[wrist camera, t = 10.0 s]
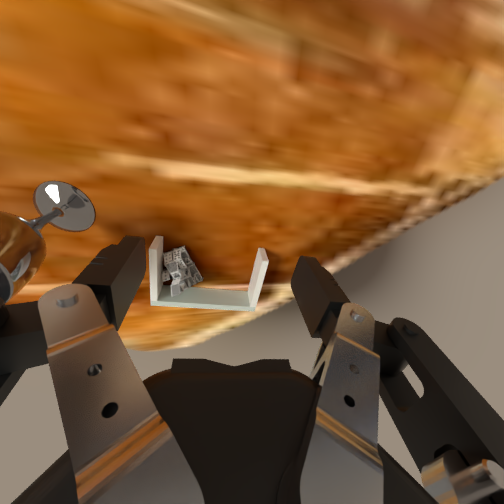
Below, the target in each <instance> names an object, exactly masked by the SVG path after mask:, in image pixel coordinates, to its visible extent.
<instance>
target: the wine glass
mask: <svg viewBox="0 0 504 504" xmlns="http://www.w3.org/2000/svg"><path fill="white" fill-rule="evenodd" d="M33 202H34V206H35V208H36V210H37V212H38V213H39V214H40V216H41V217H38V218H35V219H31V220H27V219H23V218H21V217H19V216H16V215H14V214H11V213H7V212H2V211H0V297H1V298H2V299H3V301H4V303H6V302H8V301H9V300H10V299H11V298H12V297H14V296H15V295H16V294H17V293H18V292H19V291H20V290H21V289H22V288H23V287H25V286H26V285H27V284H28V282H29V281H30V280H31V279H32V278H33V276H34V275H35V274H36V273H37V271H38V270H39V268H40V267H41V265H42V264H43V261H44V259H45V256H46V244H45V240H44V238H43V236H42V234H41V230H42V228H43V227H44V226H45V225H46V224H48V223H49V224H51V225H52V226H54V227H56V228H58V229H61V230H64V231H69V232H80V231H84V230H86V229H88V228H89V227H90V226H91V225H92V224H93V222H94V220H95V210H94V207H93V205H92V203H91V201H90V200H89V198H88V197H87V196H86V195H85V194H84V193H83V192H82V191H80V190H79V189H77V188H76V187H74V186H72V185H70V184H67V183H64V182H60V181H48V182H44V183H42V184H40V185H39V186H38V187H37V188H36V189H35V191H34V194H33Z"/></svg>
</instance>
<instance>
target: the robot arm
mask: <svg viewBox="0 0 504 504" xmlns="http://www.w3.org/2000/svg"><path fill="white" fill-rule="evenodd" d="M145 271H146V253H145V240H144V238H143V237H136V236H127V235H126V236H125V237H124V238H123V239H122V240H121V242H120V243H119V244H118V245H113V244H112V245H110V246H108V247H106V248H104V249H102V250H101V251H100V252H99V253H98V254H97V256H96V258H94V259H93V260H92V261H91V262H90V264H89V265H88V266H87V267H86V268H85V269H84V270H83V271H82V272H81V273H80V275H79V276H78V277H77V278H76V279H75V280H74V281H73V282H72V284H67V285H63V286H59V287H56V288H54V289H52V290H50V291H48V292H46V293H45V294H44V295H43V296H42V297H41V298H40V299H39V301H34V302H26V303H19V304H12V305H5V303H4V301H3V299H2V298H1V297H0V406H1V405H2V403H3V402H4V400H5V399H6V397H7V396H8V395H9V393H10V392H11V390H12V389H13V387H14V386H15V385H16V383H17V382H18V380H19V379H20V377H21V376H22V374H23V373H24V372H25V370H26V369H28V368H31V367H35V366H40V365H44V364H48V363H49V366H50V370H51V374H52V379H53V383H54V388H55V392H56V397H57V401H58V405H59V410H60V414H61V418H62V422H63V427H64V431H65V435H66V440H67V444H68V448H69V449H68V450H67V451H66V452H65V453H64V454H63V455H62V456H61V457H60V458H59V459H58V460H56V461H55V462H54V463H53V464H52V465H51V466H50V467H49V468H48V469H47V470H46V471H45V472H44V473H43V474H42V475H41V476H40V477H39V478H37V479H36V480H35V481H34V482H33V483H32V484H31V485H30V486H29V487H28V488H27V489H26V490H25V491H24V492H23V493H22V494H21V495H20V496H19V497H18V498H16V499H15V500H14V501H13V502H12V503H11V504H504V420H503V419H502V418H501V417H500V416H499V415H498V414H497V413H496V411H495V410H494V409H493V408H492V407H491V406H490V405H489V404H488V403H487V401H486V400H485V399H484V398H483V397H482V396H481V395H480V393H479V392H478V391H477V390H476V389H475V388H474V387H473V386H472V384H471V383H470V382H469V381H468V380H467V379H466V378H465V377H464V376H463V374H462V373H461V372H460V371H459V370H458V369H457V368H456V366H454V364H453V363H452V362H451V361H450V360H449V359H448V357H447V356H446V355H445V354H444V353H443V352H442V351H441V350H440V349H439V347H438V346H437V345H436V344H435V343H434V342H433V341H432V340H431V338H430V337H429V336H428V335H427V334H426V333H425V332H424V331H423V330H422V329H421V328H420V327H419V326H418V325H416V324H415V323H413V322H411V321H409V320H407V319H404V318H395V319H393V321H392V322H391V323H390V325H389V324H385V323H382V322H379V321H376V320H374V318H373V316H372V314H371V313H370V312H369V311H368V310H366V309H365V308H363V307H362V306H360V305H357V304H355V303H351V302H350V301H349V299H348V298H347V296H346V295H345V293H344V292H343V291H342V289H341V288H340V287H339V286H338V283H337V282H336V281H335V279H334V278H333V276H332V275H331V273H330V272H328V271H327V270H326V269H325V268H324V267H321V265H320V264H319V262H318V261H317V259H316V258H315V257H308V256H300V258H299V260H298V262H297V265H296V268H295V270H294V273H293V276H292V279H291V289H292V291H293V294H294V296H295V298H296V301H297V303H298V306H299V308H300V311H301V313H302V315H303V318H304V320H305V323H306V325H307V327H308V330H309V332H310V335H311V337H312V338H321V339H322V343H321V345H320V347H319V350H318V353H317V356H316V359H315V361H314V364H313V367H312V370H311V373H310V376H309V377H308V376H306V375H304V374H302V373H300V372H298V371H296V370H293V369H291V367H290V363H289V360H288V359H286V360H285V359H282V360H281V359H262V360H258V361H254V362H250V363H246V364H243V365H239V366H230V365H226V364H222V363H218V362H214V361H211V360H207V359H173V362H172V368H171V369H168V370H164V371H162V372H159V373H157V374H154V375H152V376H150V377H148V378H147V379H145V380H144V381H142V380H141V378H140V376H139V374H138V372H137V370H136V368H135V366H134V364H133V362H132V360H131V358H130V356H129V354H128V352H127V350H126V348H125V346H124V344H123V342H122V340H121V338H120V336H119V334H118V332H117V331H118V330H119V328H120V325H121V323H122V321H123V319H124V317H125V315H126V313H127V311H128V309H129V307H130V305H131V303H132V300H133V298H134V296H135V294H136V292H137V290H138V288H139V286H140V284H141V282H142V280H143V278H144V275H145ZM408 364H409V365H410V367H411V368H412V369H413V371H414V372H415V374H416V375H417V376H418V378H419V379H420V381H421V382H422V384H423V387H424V395H423V396H422V397H421V398H419V396H418V395H417V393H416V392H415V390H414V389H413V387H412V386H411V384H410V383H409V381H408V380H407V378H406V377H405V375H404V374H403V372H402V370H404V369H405V367H406V366H407V365H408ZM379 394H380V396H381V398H382V400H383V402H384V404H385V406H386V408H387V409H388V412H389V414H390V415H391V417H392V419H393V421H394V423H395V425H396V427H397V429H398V431H399V433H400V435H401V436H402V439H403V440H404V442H405V444H406V446H407V448H408V450H409V452H410V454H411V456H412V458H413V459H414V461H415V463H416V465H417V467H418V469H419V471H420V473H421V478H422V483H423V486H424V488H423V487H422V486H421V485H420V484H419V483H418V482H417V481H416V480H415V479H414V478H413V477H412V476H411V475H410V474H409V473H408V472H407V471H406V470H405V469H404V468H402V467H401V466H400V465H399V463H398V462H397V461H396V460H394V458H393V457H391V456H390V455H389V454H388V453H387V452H386V451H385V450H384V449H383V448H382V447H381V446H380V445H379V444H378V443H377V441H378V438H377V437H378V410H379Z"/></svg>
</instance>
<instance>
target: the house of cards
mask: <svg viewBox="0 0 504 504" xmlns="http://www.w3.org/2000/svg"><path fill="white" fill-rule="evenodd" d="M162 256H163V257H164V262H165V266H166V268H164V271H163V272H162V282H164V281H167V280H170V279H172V278H174V279H173V281H172V284H171V295H172V297H173V296H176V295H179V294H181V293H183V292H184V289H188V288H189V287H191V286H192V285H194V284H196V283H198V282H200V281H203V277H202V276H201V275H200V273H199V271H198V269H197V268H196V266H195V262H193V261H192V259H191V258H190V256H189V254H188V252H187V250H186V248H185V245H184V246H181V247H178V248H174V249H172V250H171V251H168V252H165V253H163V255H162Z"/></svg>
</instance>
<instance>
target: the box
mask: <svg viewBox="0 0 504 504" xmlns="http://www.w3.org/2000/svg"><path fill="white" fill-rule="evenodd" d="M162 255H163V236H157V235H156V237H155V239H154V240H153V242H152V244H151V246H150V248H149V268H150V298H151V305H153V306H170V307H187V308H205V309H222V310H240V311H255V308H256V305H257V301H258V298H259V294H260V291H261V287H262V284H263V280H264V277H265V273H266V270H267V266H268V263H269V260H268V258H267V255H266V252H265V249H264V248H258V252H257V256H256V260H255V264H254V268H253V272H252V276H251V280H250V284H249V288H248V291H237V290H224V289H211V288H198V287H189V288H188V289H184V292H183V293H181V294H179V295H176V296H173V297H172V295H171V285H163V282H162V272H163V256H162Z"/></svg>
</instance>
